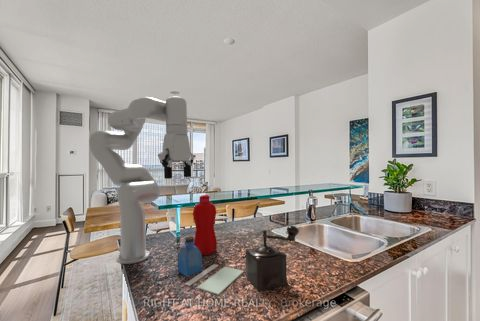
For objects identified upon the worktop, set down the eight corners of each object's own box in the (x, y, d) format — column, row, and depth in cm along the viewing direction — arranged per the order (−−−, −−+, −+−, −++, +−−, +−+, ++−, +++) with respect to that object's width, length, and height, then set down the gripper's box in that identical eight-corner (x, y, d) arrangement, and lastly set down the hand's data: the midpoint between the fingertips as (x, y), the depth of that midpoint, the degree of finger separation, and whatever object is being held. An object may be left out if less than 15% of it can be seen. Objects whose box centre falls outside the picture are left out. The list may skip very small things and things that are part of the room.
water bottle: (200, 246, 107) (199, 193, 108) (219, 249, 102) (218, 194, 103) (187, 252, 99) (186, 195, 100) (207, 257, 94) (206, 197, 94)
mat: (197, 288, 71) (197, 287, 71) (224, 267, 85) (224, 266, 85) (218, 295, 67) (218, 293, 67) (243, 272, 81) (243, 270, 81)
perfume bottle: (192, 265, 87) (192, 234, 87) (201, 270, 82) (201, 237, 83) (177, 271, 82) (177, 238, 83) (187, 276, 78) (186, 241, 78)
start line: (185, 284, 73) (185, 283, 73) (213, 264, 87) (213, 264, 87) (189, 285, 72) (189, 285, 72) (218, 265, 86) (218, 265, 86)
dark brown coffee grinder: (259, 293, 67) (258, 232, 68) (245, 276, 78) (244, 223, 78) (302, 282, 73) (301, 226, 73) (283, 268, 83) (282, 219, 84)
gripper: (185, 134, 93) (186, 176, 93) (150, 129, 78) (152, 179, 78) (199, 133, 89) (201, 176, 89) (166, 127, 74) (167, 179, 74)
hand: (178, 177), depth 83 cm, fingers open, 9 cm apart
